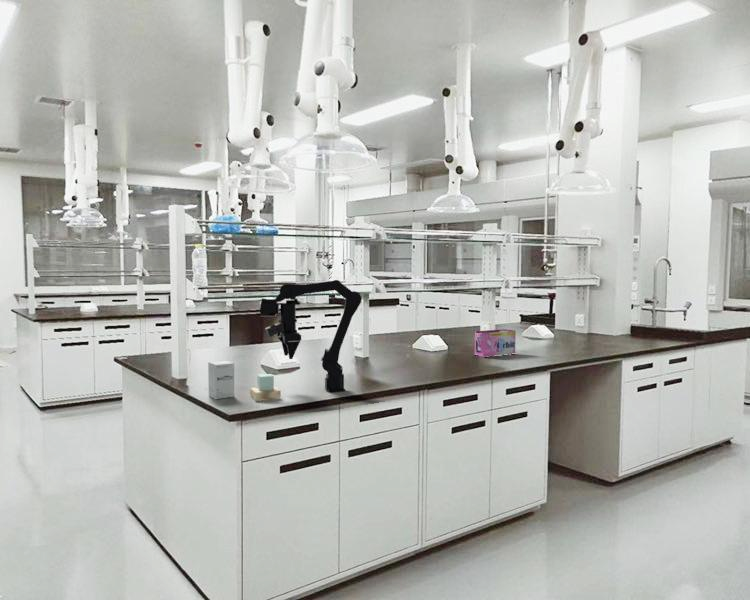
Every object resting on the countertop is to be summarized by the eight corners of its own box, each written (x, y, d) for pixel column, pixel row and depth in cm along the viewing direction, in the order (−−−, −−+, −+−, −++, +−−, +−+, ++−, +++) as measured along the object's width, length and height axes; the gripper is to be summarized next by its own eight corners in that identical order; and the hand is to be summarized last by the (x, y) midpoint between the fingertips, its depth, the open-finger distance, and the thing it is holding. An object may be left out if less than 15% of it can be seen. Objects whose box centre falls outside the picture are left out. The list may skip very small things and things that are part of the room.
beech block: (274, 395, 207) (274, 385, 207) (280, 400, 199) (280, 390, 199) (250, 397, 203) (250, 387, 203) (255, 402, 195) (255, 392, 195)
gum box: (481, 358, 290) (481, 332, 290) (472, 356, 297) (472, 331, 297) (515, 355, 302) (516, 330, 301) (505, 353, 309) (506, 329, 308)
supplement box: (215, 399, 197) (214, 364, 197) (208, 396, 203) (207, 362, 203) (235, 397, 202) (234, 362, 201) (227, 393, 208) (227, 360, 207)
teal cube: (271, 387, 204) (271, 373, 204) (273, 389, 200) (273, 376, 199) (257, 388, 202) (257, 374, 202) (259, 390, 198) (259, 376, 198)
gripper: (262, 315, 217) (263, 354, 217) (271, 319, 199) (271, 362, 200) (291, 314, 220) (291, 353, 221) (301, 318, 203) (301, 360, 204)
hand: (288, 357), depth 211 cm, fingers open, 9 cm apart
